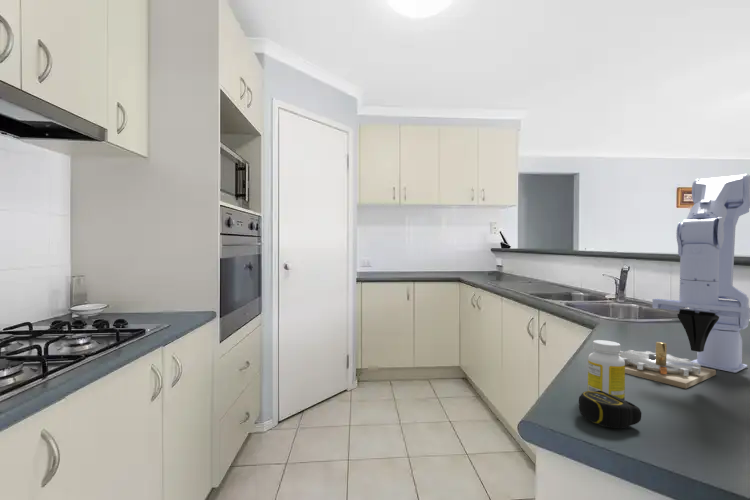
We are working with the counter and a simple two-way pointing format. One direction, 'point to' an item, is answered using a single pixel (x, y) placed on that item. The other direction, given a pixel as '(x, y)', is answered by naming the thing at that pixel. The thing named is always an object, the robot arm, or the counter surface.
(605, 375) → the supplement bottle
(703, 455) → the counter surface
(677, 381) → the sprocket base
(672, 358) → the sprocket
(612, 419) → the tape measure
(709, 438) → the counter surface
